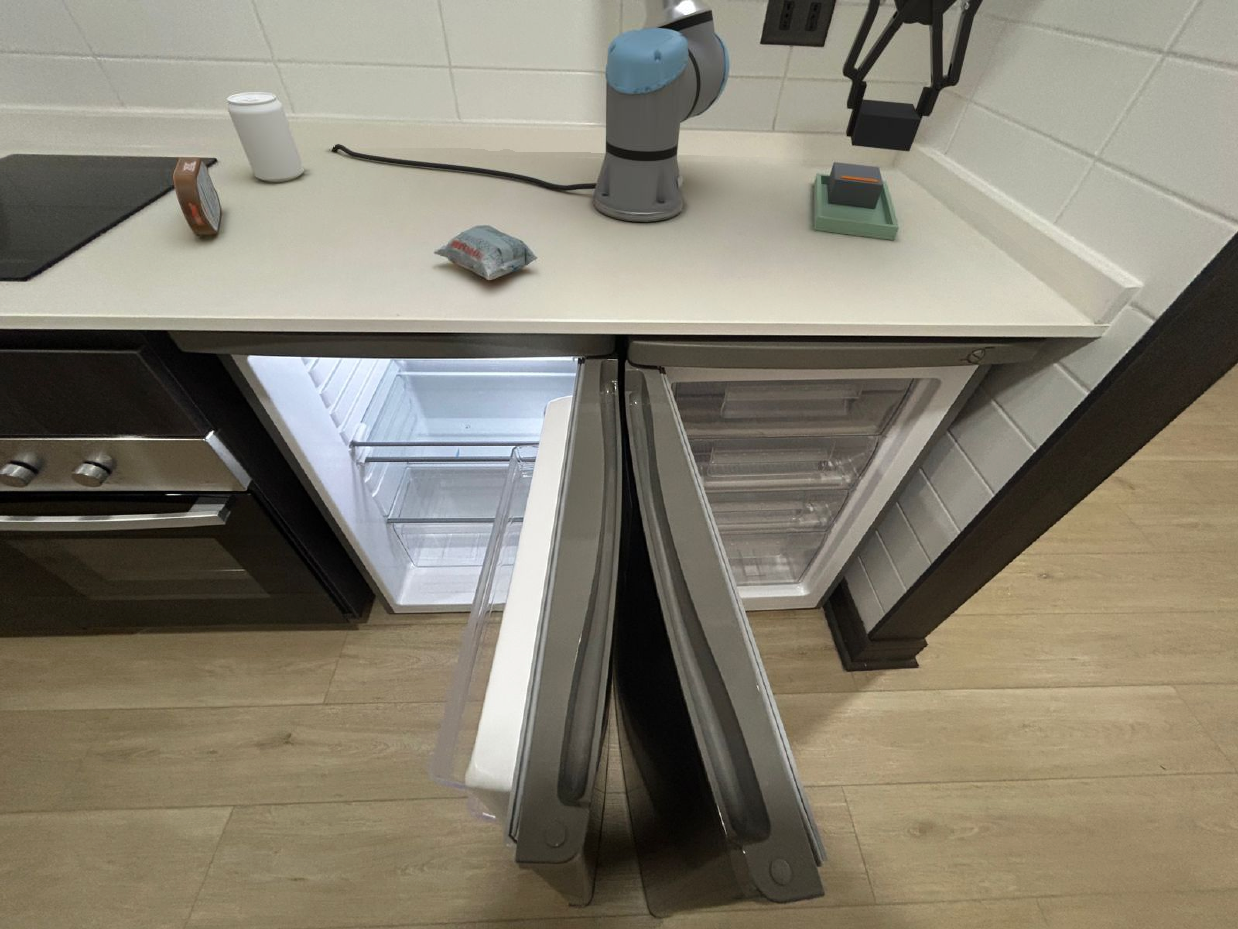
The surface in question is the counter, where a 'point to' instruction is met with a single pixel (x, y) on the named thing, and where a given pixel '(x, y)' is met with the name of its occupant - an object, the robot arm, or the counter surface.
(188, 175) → the tin
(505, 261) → the packaged food
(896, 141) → the loose pad
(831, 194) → the pad
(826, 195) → the green tray
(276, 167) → the beverage can
